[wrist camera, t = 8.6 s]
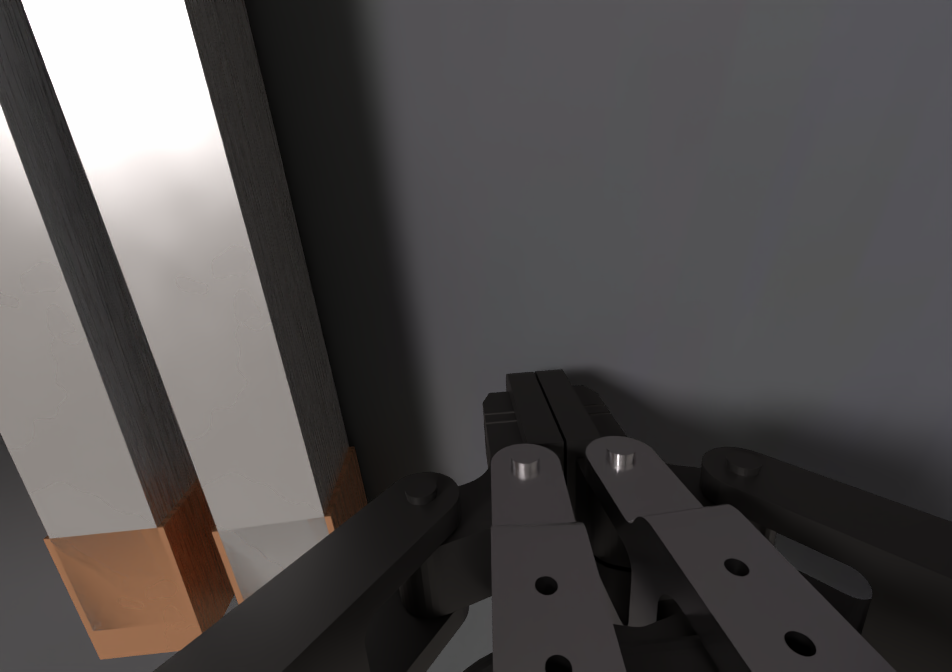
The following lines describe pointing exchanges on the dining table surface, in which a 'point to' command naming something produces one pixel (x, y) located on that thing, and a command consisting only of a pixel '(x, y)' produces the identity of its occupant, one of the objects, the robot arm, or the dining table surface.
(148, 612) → the base
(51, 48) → the tong arm
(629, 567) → the robot arm
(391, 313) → the dining table surface
